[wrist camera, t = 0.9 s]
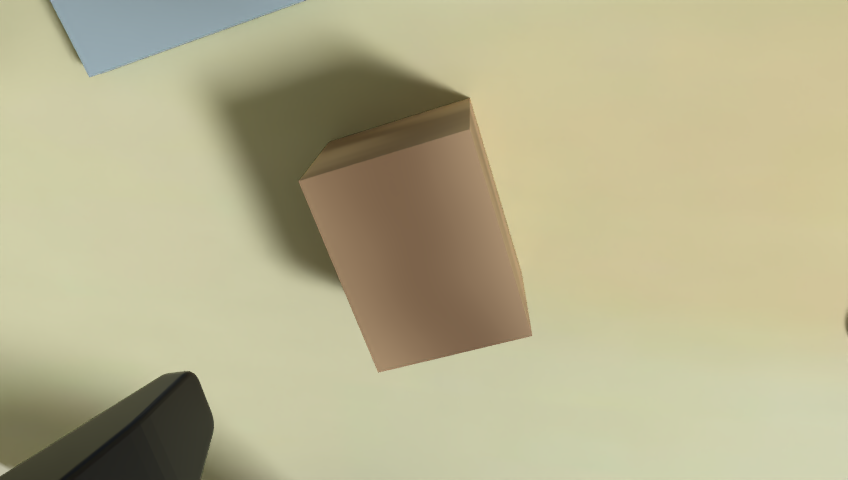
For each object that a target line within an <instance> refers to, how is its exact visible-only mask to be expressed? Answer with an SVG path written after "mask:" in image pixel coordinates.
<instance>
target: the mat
mask: <svg viewBox="0 0 848 480" xmlns="http://www.w3.org/2000/svg"><path fill="white" fill-rule="evenodd" d="M50 1H51V3H52V5H53V7H54V9H55V11H56V13H57V15H58V17H59V19H60V21H61V23H62V25H63V27H64V29H65V31H66V33H67V34H68V36H69V38H70V40H71V42H72V44H73V46H74V48H75V50H76V52H77V54H78V56H79V58H80V60H81V62H82V64H83V66H84V68H85V70H86V72H87V73H88V75H89V77H92V76H95V75H98V74H101V73H105V72H107V71H110V70H113V69H116V68H119V67H121V66H124V65H127V64H130V63H133V62H135V61H138V60H141V59H144V58H146V57H149V56H152V55H155V54H158V53H160V52H163V51H166V50H169V49H172V48H174V47H177V46H180V45H183V44H186V43H188V42H191V41H194V40H197V39H200V38H202V37H205V36H208V35H211V34H214V33H216V32H219V31H222V30H225V29H227V28H230V27H233V26H236V25H239V24H241V23H244V22H247V21H250V20H253V19H255V18H258V17H261V16H264V15H267V14H269V13H272V12H275V11H278V10H281V9H283V8H286V7H289V6H292V5H295V4H297V3H300V2H303V1H306V0H50Z"/></svg>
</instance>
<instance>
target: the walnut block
mask: <svg viewBox="0 0 848 480" xmlns="http://www.w3.org/2000/svg"><path fill="white" fill-rule="evenodd" d="M298 182H299V184H300V186H301V189H302V191H303V194H304V196H305V198H306V201H307V203H308V206H309V208H310V210H311V213H312V215H313V218H314V220H315V222H316V225H317V227H318V230H319V232H320V234H321V237H322V239H323V241H324V244H325V246H326V249H327V251H328V253H329V256H330V258H331V261H332V263H333V265H334V268H335V270H336V273H337V275H338V277H339V280H340V282H341V285H342V287H343V289H344V292H345V294H346V296H347V299H348V301H349V304H350V306H351V308H352V311H353V313H354V316H355V318H356V320H357V323H358V325H359V328H360V330H361V332H362V335H363V337H364V340H365V342H366V344H367V347H368V349H369V352H370V354H371V356H372V359H373V361H374V363H375V366H376V368H377V371H378V372H383V371H387V370H391V369H395V368H399V367H404V366H408V365H412V364H416V363H420V362H424V361H429V360H433V359H437V358H441V357H445V356H450V355H454V354H458V353H462V352H466V351H471V350H475V349H479V348H483V347H487V346H492V345H496V344H500V343H504V342H508V341H513V340H517V339H521V338H525V337H529V336H532V332H531V326H530V320H529V314H528V308H527V302H526V296H525V290H524V284H523V278H522V272H521V269H520V266H519V262H518V259H517V256H516V252H515V249H514V245H513V242H512V239H511V235H510V232H509V229H508V225H507V222H506V218H505V215H504V212H503V208H502V205H501V202H500V198H499V195H498V191H497V188H496V185H495V181H494V178H493V175H492V171H491V168H490V165H489V161H488V158H487V154H486V151H485V148H484V144H483V141H482V138H481V134H480V131H479V127H478V124H477V121H476V117H475V114H474V111H473V107H472V104H471V100H470V98H467V99H464V100H461V101H458V102H455V103H451V104H448V105H445V106H442V107H439V108H435V109H432V110H429V111H426V112H423V113H419V114H416V115H413V116H410V117H407V118H403V119H400V120H397V121H394V122H391V123H387V124H384V125H381V126H378V127H375V128H372V129H368V130H365V131H362V132H359V133H356V134H352V135H349V136H346V137H343V138H340V139H336V140H333V141H330V142H328V144H327V145H326V146H325V148H324V149H323V150H322V151H321V153H320V154H319V155H318V157H317V158H316V159H315V160H314V162H313V163H312V164H311V166H310V167H309V168H308V169H307V171H306V172H305V173H304V175H303V176H302V177H301V178H300V180H299V181H298Z"/></svg>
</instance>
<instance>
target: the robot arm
mask: <svg viewBox="0 0 848 480" xmlns="http://www.w3.org/2000/svg"><path fill="white" fill-rule="evenodd" d="M213 429H214V421H213V416H212V413H211V410H210V407H209V405H208V402H207V400H206V397H205V395H204V392H203V389H202V387H201V384H200V382H199V380H198V378H197V376H196V375H195V374H194V373H192V372H190V371H184V372H175V373H167V374H164V375H162V376H160V377H158V378H157V379H155V380H154V381H152V382H150V383H149V384H147V385H146V386H144V387H142V388H141V389H139V390H138V391H136V392H134V393H133V394H131V395H130V396H128V397H126V398H125V399H123V400H122V401H120V402H118V403H117V404H115V405H114V406H112V407H110V408H109V409H107V410H106V411H104V412H102V413H101V414H99V415H98V416H96V417H94V418H93V419H91V420H90V421H88V422H86V423H85V424H83V425H82V426H80V427H78V428H77V429H75V430H74V431H72V432H70V433H69V434H67V435H66V436H64V437H62V438H61V439H59V440H58V441H56V442H54V443H53V444H51V445H50V446H48V447H46V448H45V449H43V450H42V451H40V452H38V453H37V454H35V455H34V456H32V457H30V458H29V459H27V460H26V461H24V462H22V463H21V464H19V465H18V466H16V467H14V468H13V469H11V470H10V471H8V472H6V473H5V474H3V475H2V476H0V480H201V476H202V473H203V469H204V465H205V461H206V458H207V454H208V450H209V446H210V442H211V439H212V435H213Z"/></svg>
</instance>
